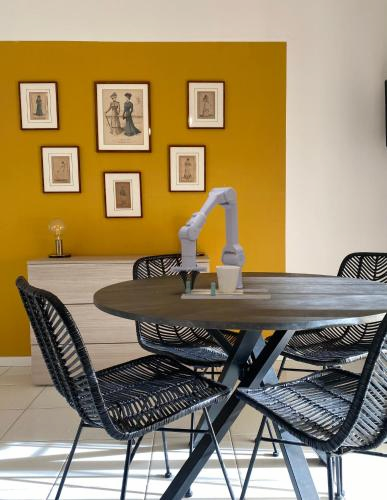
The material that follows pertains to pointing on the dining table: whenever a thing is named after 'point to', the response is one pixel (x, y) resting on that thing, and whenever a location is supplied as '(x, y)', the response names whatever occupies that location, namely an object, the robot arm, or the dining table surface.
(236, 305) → the dining table surface
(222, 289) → the cup
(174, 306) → the dining table surface
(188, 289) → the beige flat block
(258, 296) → the lane rails
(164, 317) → the dining table surface
